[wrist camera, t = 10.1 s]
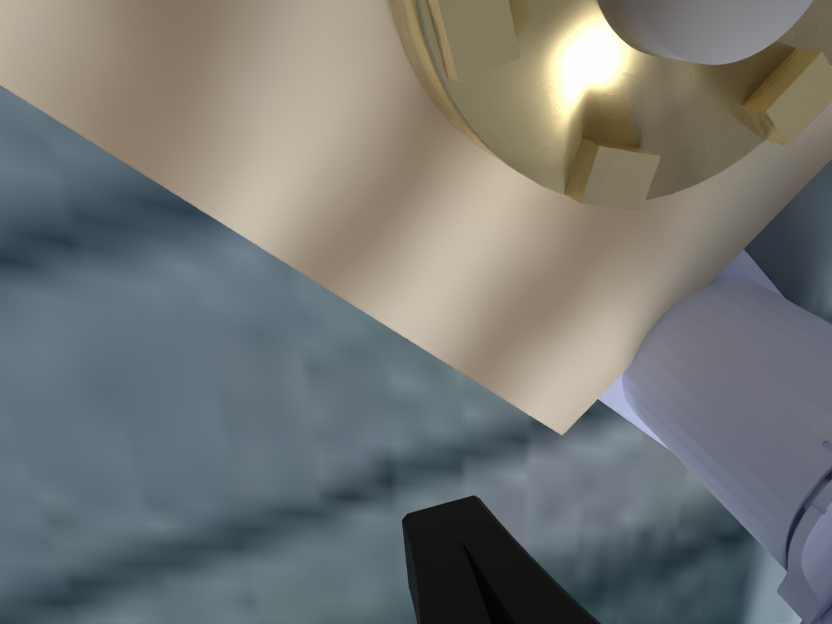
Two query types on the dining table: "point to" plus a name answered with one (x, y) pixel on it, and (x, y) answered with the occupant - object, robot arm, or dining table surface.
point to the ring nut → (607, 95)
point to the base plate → (408, 173)
